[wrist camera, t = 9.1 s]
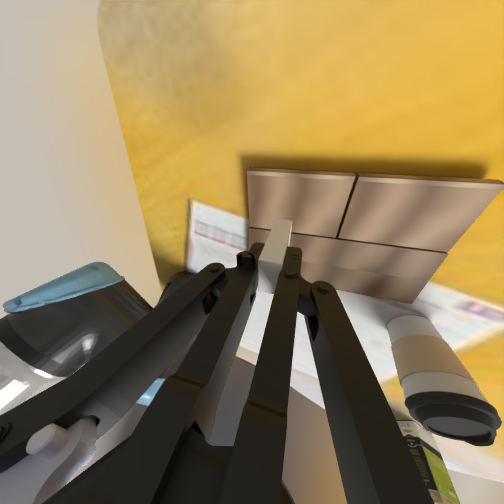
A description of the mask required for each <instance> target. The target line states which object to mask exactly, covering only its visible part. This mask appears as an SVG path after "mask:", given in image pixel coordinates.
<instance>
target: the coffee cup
mask: <svg viewBox="0 0 504 504" xmlns="http://www.w3.org/2000/svg"><path fill="white" fill-rule="evenodd" d="M387 329H388V333H389V337H390V341H391V345H392V346H391V348H392V353H393V357H394V361H395V365H396V369H397V373H398V377H399V381H400V385H401V387H402V388H403V391H404V395H405V399H406V400H405V405H406V407H407V408H408V409H409V413H410V415H411V416H412V417H413V418H414V419H415V420H416V421H418V422H420V423H421V424H422V425H423V427H424V428H425V429H427V430H428V431H430V432H432V433H434V434H436V435H439V436H442V437H445V438H450V439H454V440H461V441H465V442H467V443H470V444H472V445H475V446H489V445H492V444H493V443H494V439H495V437H496V430H497V429H498V428H499V427H500V426H501V423H502V421H501V419H500V417H499V416H498V413H497V410H496V409H495V408H494V407H493V406H492V405H491V404H489V403H488V401H487V400H486V398H485V397H484V395H483V394H482V393H481V391H480V389H479V386H478V385H477V384H476V382H475V381H474V379H473V378H472V377H471V375H470V374H469V372H468V371H467V370H466V368H465V367H464V366H463V364H462V363H461V361H460V360H459V359H458V357H457V356H456V355H455V353H454V352H453V350H452V349H451V348H450V346H449V345H448V344H447V343H446V342H445V341H444V339H443V338H442V337H441V335H440V334H439V332H438V331H437V330H436V328H435V327H434V325H433V324H432V323H431V321H430V320H428V319H427V318H424V317H422V316H417V315H404V316H399V317H396V318H394V319H392V320H391V321H390V322H389V323H388V325H387Z"/></svg>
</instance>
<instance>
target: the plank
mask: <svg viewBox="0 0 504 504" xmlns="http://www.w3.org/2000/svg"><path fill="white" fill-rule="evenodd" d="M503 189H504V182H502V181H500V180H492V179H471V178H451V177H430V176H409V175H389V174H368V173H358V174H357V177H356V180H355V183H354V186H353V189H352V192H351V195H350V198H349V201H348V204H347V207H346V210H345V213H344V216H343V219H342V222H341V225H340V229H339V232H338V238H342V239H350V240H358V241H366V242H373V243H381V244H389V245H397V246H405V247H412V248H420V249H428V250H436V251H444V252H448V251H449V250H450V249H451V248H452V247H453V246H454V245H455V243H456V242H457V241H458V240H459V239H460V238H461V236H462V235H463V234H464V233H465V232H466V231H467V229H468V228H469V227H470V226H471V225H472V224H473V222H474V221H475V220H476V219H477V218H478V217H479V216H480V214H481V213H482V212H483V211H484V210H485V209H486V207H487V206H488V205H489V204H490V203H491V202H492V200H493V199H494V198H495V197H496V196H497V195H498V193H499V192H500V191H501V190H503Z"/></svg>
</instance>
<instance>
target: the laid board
mask: <svg viewBox="0 0 504 504" xmlns="http://www.w3.org/2000/svg"><path fill="white" fill-rule="evenodd" d="M270 232H271V229H264V228H256V227H249V228H248V236H249V250H250V248H251V246H252V245H253V244H254V243H256V242H259V243H266V241H267V239H268V236H269V234H270ZM289 246H290V247H297V248H300V249H301V250H302V262H301V276H302V277H303V278H304V279H305V280H306V281H308V282H310V283H313V282H315V281H325V282H328V283H330V284H331V285H333V287H334V288H335V289H336V290H342V291H347V292H352V293H357V294H362V295H368V296H373V297H378V298H383V299H389V300H394V301H399V302H404V303H410V304H412V302H413V301H414V300H415V298H416V297H417V296H418V294H419V293H420V292H421V290H422V289H423V288H424V286H425V285H426V284H427V282H428V281H429V280H430V278H431V277H432V276H433V274H434V273H435V272H436V270H437V269H438V267H439V266H440V265H441V263H442V262H443V261H444V259H445V258H446V257H447V255H448V253H447V252H444V251H436V250H428V249H420V248H412V247H405V246H397V245H389V244H381V243H373V242H366V241H358V240H350V239H342V238H338V236H336V238H334V237H327V236H319V235H311V234H303V233H295V232H291V237H290V244H289Z"/></svg>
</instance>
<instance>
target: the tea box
mask: <svg viewBox="0 0 504 504" xmlns="http://www.w3.org/2000/svg"><path fill="white" fill-rule="evenodd" d="M397 423H398V426H399V428H400V430H401V432H402V434H403V436H404V438H405V441H406V443H407V445H408V447H409V449H410V451H411V454H412V456H413V458H414V460H415V462H416V464H417V467H418V469H419V471H420V473H421V475H422V477H423V479H424V482H425V484H426V486H427V488H428V490H429V492H430V495H431V497H432V499H433V501H434V503H435V504H460V502H459V499H458V497H457V494H456V492H455V490H454V487H453V485H452V482H451V479H450V477H449V475H448V472H447V469H446V466H445V464H444V461H443V459H442V456H441V454H440V451H439V449H438V447H437V444H436V442H435V440H434V437H433V436H432V435H431V434H430V433H428V432H427V431H426V430H425V429H423V428H422V427H421V426H420V425H418V424H417V423H416V422H414V421H397Z"/></svg>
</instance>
